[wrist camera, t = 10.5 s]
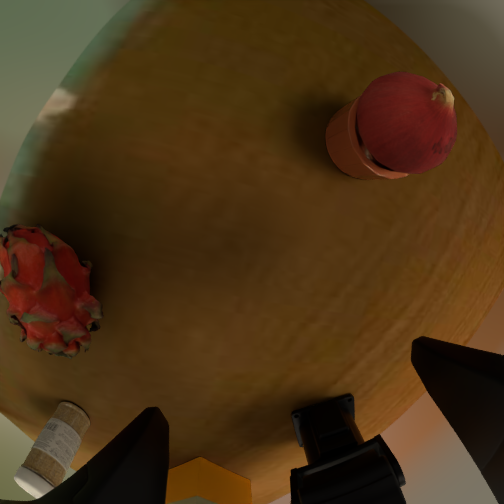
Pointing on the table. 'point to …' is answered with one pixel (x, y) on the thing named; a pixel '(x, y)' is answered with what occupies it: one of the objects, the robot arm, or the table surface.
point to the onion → (407, 122)
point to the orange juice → (206, 484)
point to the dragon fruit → (47, 291)
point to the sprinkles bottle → (53, 450)
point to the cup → (353, 147)
